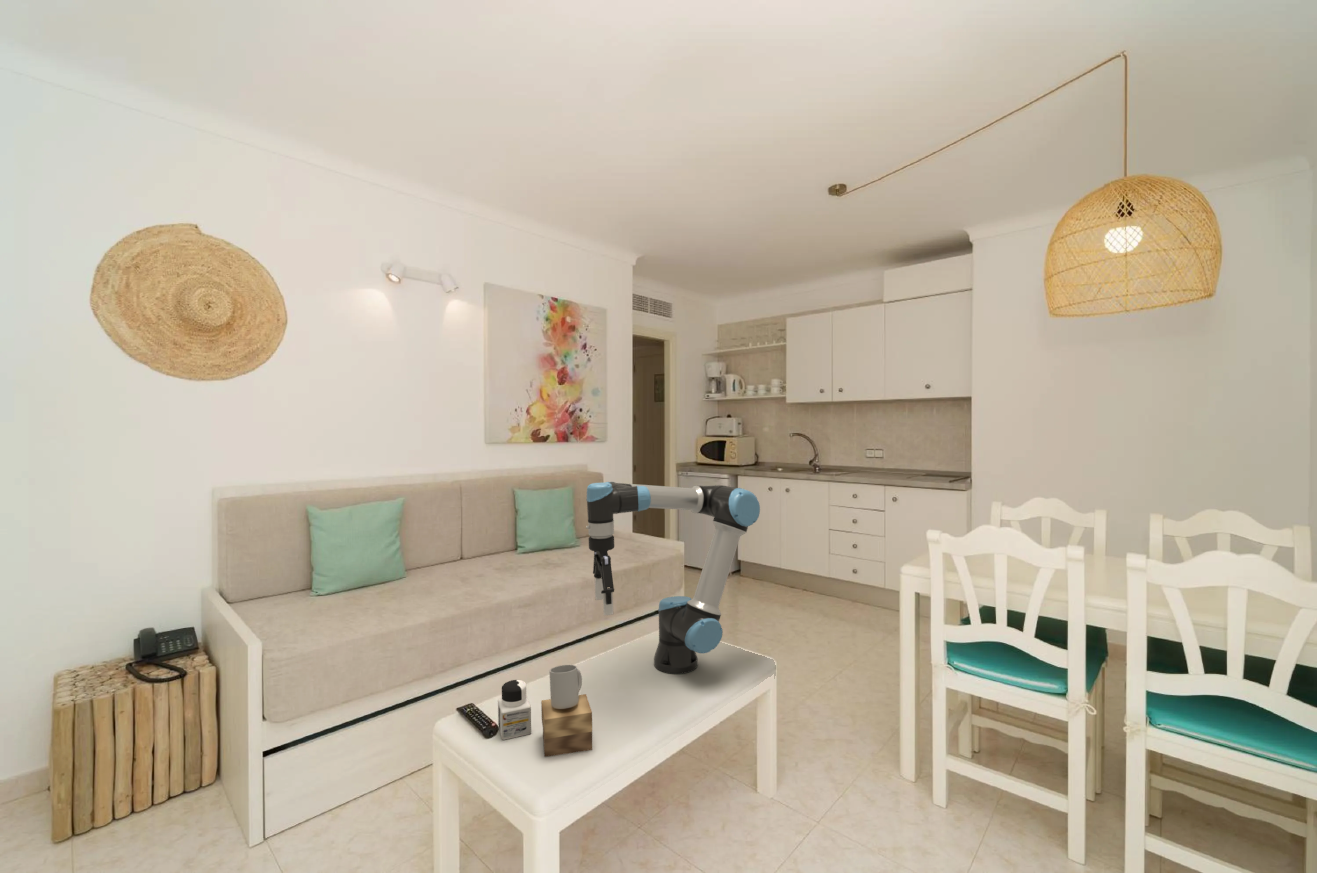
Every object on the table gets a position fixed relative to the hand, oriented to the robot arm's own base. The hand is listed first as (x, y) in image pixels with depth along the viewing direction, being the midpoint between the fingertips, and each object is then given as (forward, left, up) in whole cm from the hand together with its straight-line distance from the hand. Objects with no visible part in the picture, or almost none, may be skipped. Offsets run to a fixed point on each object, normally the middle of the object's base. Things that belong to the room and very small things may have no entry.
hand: (604, 606), depth 165 cm
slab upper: (+13, +17, -25) cm, 33 cm away
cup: (+12, +16, -20) cm, 28 cm away
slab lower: (+13, +17, -30) cm, 36 cm away
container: (+26, +7, -30) cm, 40 cm away
